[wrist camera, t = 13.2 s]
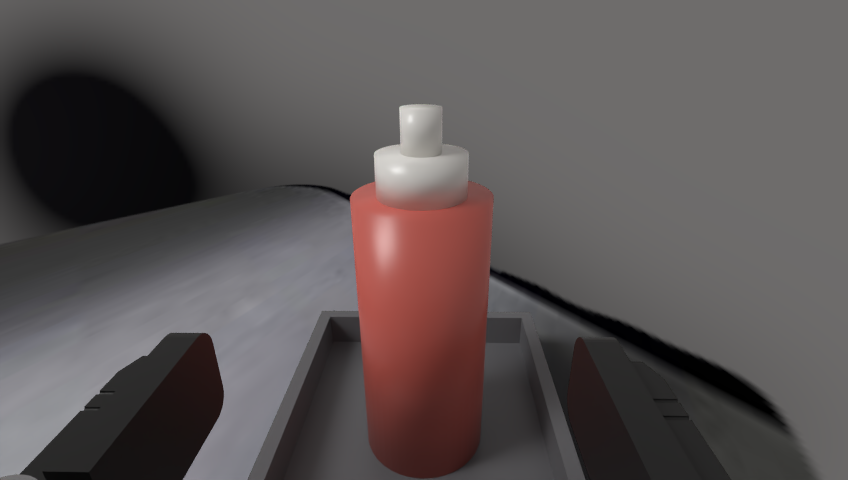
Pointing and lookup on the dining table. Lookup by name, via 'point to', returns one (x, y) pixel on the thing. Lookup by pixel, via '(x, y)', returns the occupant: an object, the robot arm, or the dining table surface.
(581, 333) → the dining table surface
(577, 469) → the tray
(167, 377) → the robot arm
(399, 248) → the bottle
